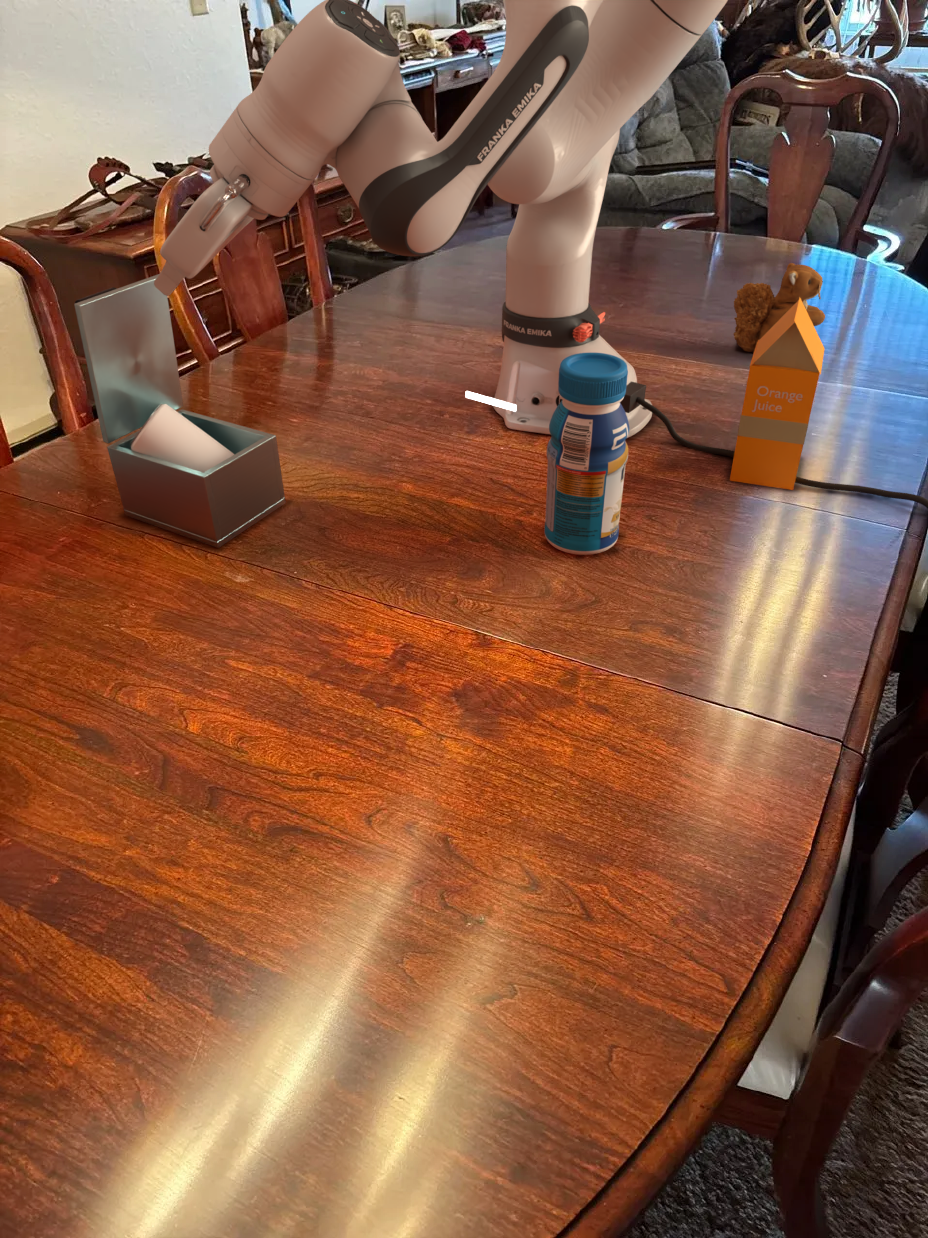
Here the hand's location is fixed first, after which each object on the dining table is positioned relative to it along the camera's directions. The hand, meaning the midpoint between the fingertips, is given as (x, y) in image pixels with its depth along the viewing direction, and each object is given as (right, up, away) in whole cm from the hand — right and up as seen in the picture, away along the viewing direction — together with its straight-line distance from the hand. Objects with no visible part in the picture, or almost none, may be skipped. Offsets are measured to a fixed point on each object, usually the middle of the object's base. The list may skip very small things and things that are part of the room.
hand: (177, 274), depth 92 cm
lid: (-7, -6, +9) cm, 13 cm away
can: (-7, -13, +10) cm, 18 cm away
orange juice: (+66, -16, +22) cm, 72 cm away
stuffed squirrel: (+78, +8, +55) cm, 96 cm away
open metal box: (-2, -22, +16) cm, 27 cm away
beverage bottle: (+42, -26, +10) cm, 50 cm away
